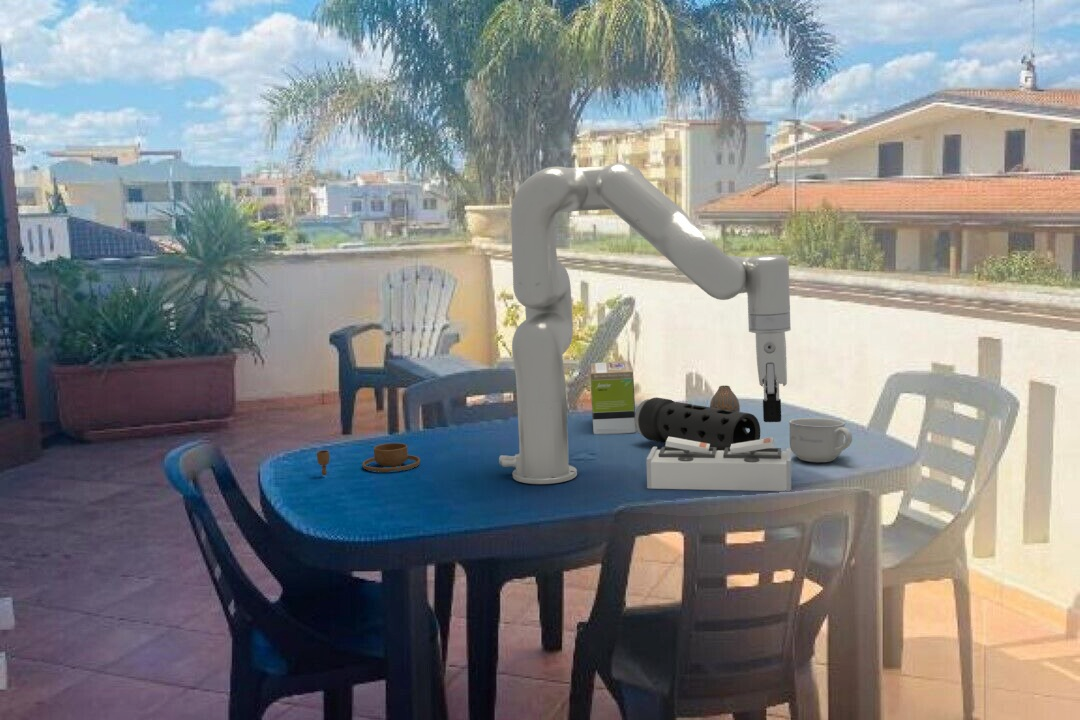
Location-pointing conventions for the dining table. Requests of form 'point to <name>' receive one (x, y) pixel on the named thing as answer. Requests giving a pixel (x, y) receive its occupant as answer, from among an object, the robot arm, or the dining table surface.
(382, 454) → the place setting
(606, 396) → the tea box
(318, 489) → the dining table surface
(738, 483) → the white switch block
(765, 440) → the outlet rocker
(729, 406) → the vase
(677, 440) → the outlet rocker
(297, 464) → the dining table surface
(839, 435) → the teacup
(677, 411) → the muzzle brake
